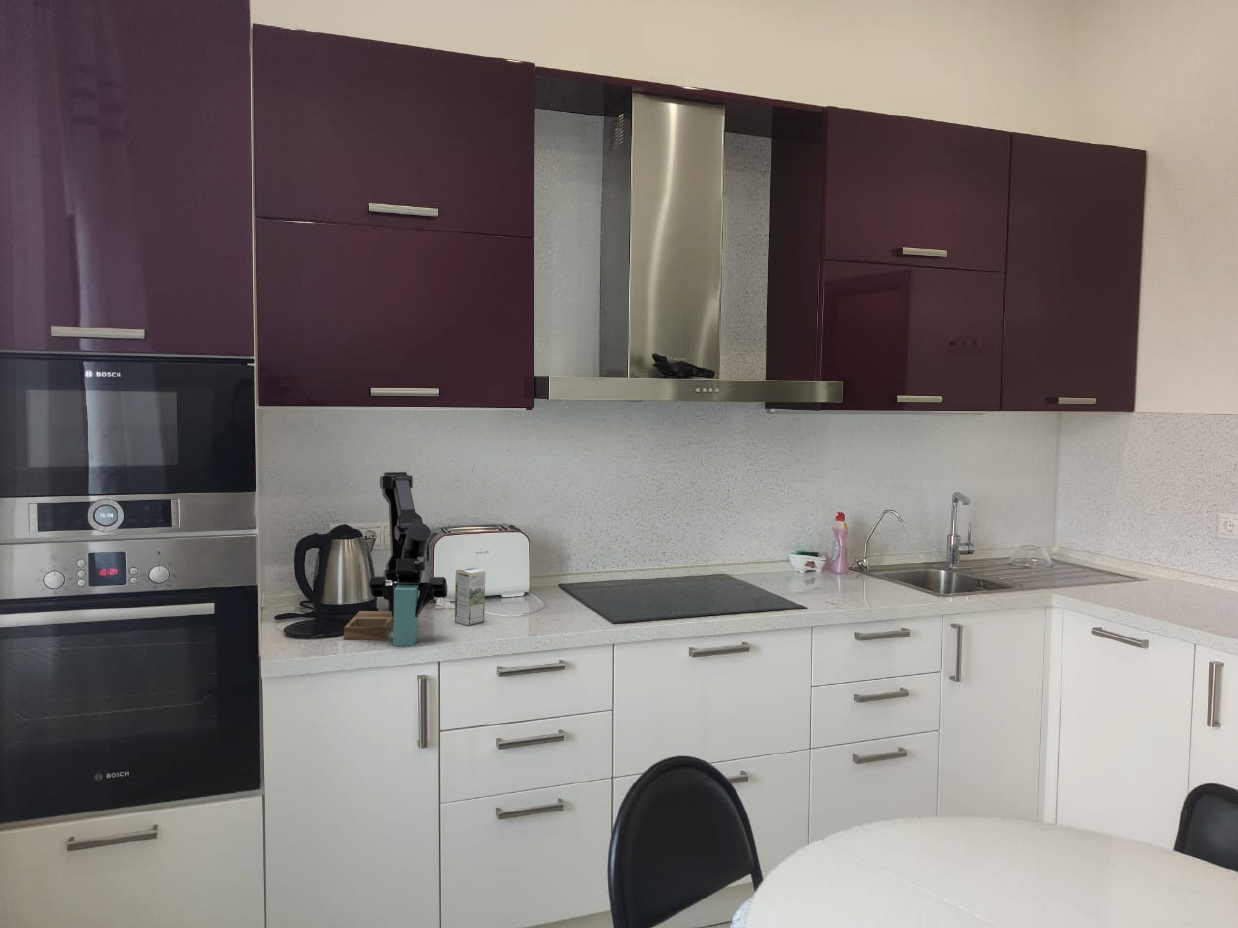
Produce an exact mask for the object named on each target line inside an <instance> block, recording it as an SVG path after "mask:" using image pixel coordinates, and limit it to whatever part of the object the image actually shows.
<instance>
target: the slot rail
mask: <svg viewBox="0 0 1238 928" xmlns="http://www.w3.org/2000/svg"><path fill="white" fill-rule="evenodd" d="M392 630H394V617H392V612H391V611H384V610H379V611H378V610H377V611H374V610H359V611H358V612H357V613H356V614H355V616H353V617H352V619H351V620H350V621H349V622H348V623H347V624H346V625H345V626H344V627H343V640H345V641H346V640H347V641H349V640H350V641H351V640H352V641H353V640H361V641H362V640H365V641H369V640H371V641H373V640H374V641H375V640H376V641H382V640H383V641H385V640H386V639H387V637H389V635H390V633H391V632H393V631H392Z"/></svg>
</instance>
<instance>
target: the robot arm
mask: <svg viewBox="0 0 1238 928" xmlns="http://www.w3.org/2000/svg"><path fill="white" fill-rule="evenodd" d="M413 477H414V476H413V475H409V474H408V473H407V471H397V472H396V471H389V472H387V471H384V473H383V475H381V476H379V488H380V489H381V494H382V496H383V498H384V500H385V501H386V502H387V504H388V516H389V517H388V520H389V537H390V538H389V539H390V540H389V541H390V542H389V543H390V556H389V557H388V560H387V562H386V564H385V569H384V571H383V575H382V576H380V575H379V576H372V577H371V578H369V583H368V587H369V590H370V594H371V596H372V597H373V598H383V599H384V600H385V601H387V603H388V605H387V607H388V608H386V609H384V610H383V611H391V612H392V617H394V589H395V588H396V586H397V585H418V602H417V606H416V612H415V617H418V618H419V615H420V614H421V612H422V611H423V609H424V608H425V606H426V605H428V603H429V602H430V601H434V600H435V598H442V599H445V598H447V597H448V584H447V579H446V577H445V576H430V577H429V582H426V581H425V582H422V578H423V571H426V557H425V556H426V555H425V554H426V550H427V548H428V545H429V541H430V538H431V533H432V530H431V528H430V527H429V526H428V525H427V524H425V523H424V522H423V518H422V515H420V514H418V513H417V512H416V508H415V503H414V499H413V498H414V497H413V494H412V493H413V492H412V489H414V487H413V486H414V485H413V484H414V483H413V482H414V481H413Z"/></svg>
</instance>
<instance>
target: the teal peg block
mask: <svg viewBox="0 0 1238 928" xmlns="http://www.w3.org/2000/svg"><path fill="white" fill-rule="evenodd" d="M418 598H419V591H418V585H397V586H396V588H395V589H394V628H393V638H392V639H393V640H392V641H393V642H392V643H393V645H392V646H395V647H396V646H397V647H400V646H401V647H414V646H415V645H416V644H417V641H418V631H419V630H418V627H419V626H418V625H419V624H418V619H419V616H418V617H415V612H416V606H417V602H418Z"/></svg>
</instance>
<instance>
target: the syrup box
mask: <svg viewBox="0 0 1238 928" xmlns="http://www.w3.org/2000/svg"><path fill="white" fill-rule="evenodd" d="M454 590H455V591H454V592H455V593H454V594H455V596H454V622H455V623H457V624H462V625H465V626H472V625H476V624H480V623H481V624H482V623H484V622H485V603H486V602H485V600H486V598H485V597H486V571H485V569H483V568H479V567H474V566H473V567H465V568H461V569H460V568H459V569H456V570H455V589H454Z"/></svg>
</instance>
